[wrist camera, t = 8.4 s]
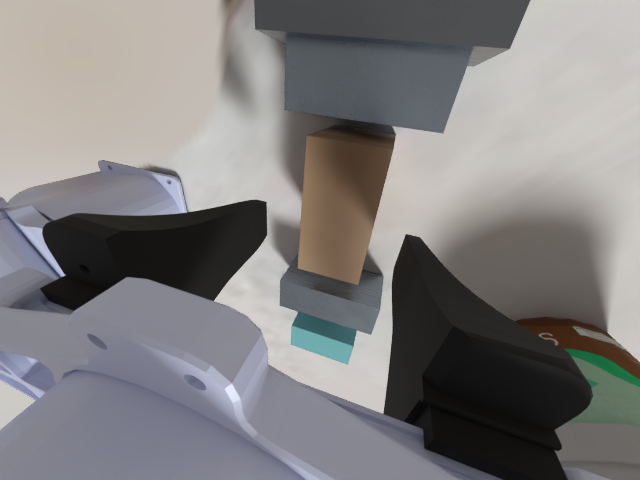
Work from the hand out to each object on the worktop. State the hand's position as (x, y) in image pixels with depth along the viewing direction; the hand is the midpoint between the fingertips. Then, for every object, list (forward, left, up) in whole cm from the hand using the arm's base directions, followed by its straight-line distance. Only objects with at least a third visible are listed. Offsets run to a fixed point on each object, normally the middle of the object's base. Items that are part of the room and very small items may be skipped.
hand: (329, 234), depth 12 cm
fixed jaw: (0, +8, -7) cm, 11 cm away
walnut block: (0, 0, -7) cm, 7 cm away
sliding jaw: (0, -11, -7) cm, 13 cm away
